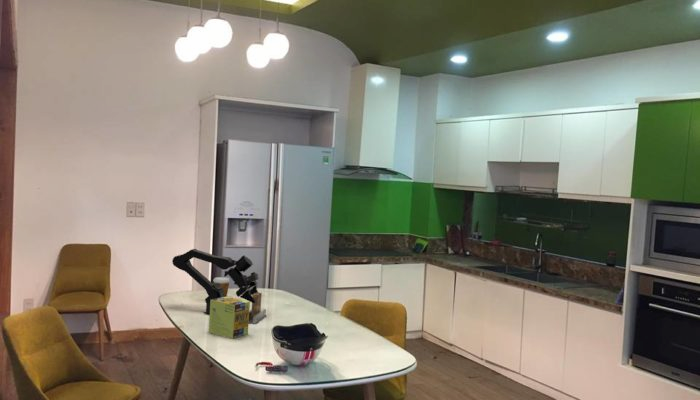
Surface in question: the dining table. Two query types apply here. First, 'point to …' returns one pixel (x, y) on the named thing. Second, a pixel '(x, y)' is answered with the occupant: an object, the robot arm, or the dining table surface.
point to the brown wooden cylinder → (222, 283)
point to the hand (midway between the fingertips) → (257, 300)
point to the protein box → (229, 317)
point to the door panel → (256, 304)
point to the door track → (257, 316)
